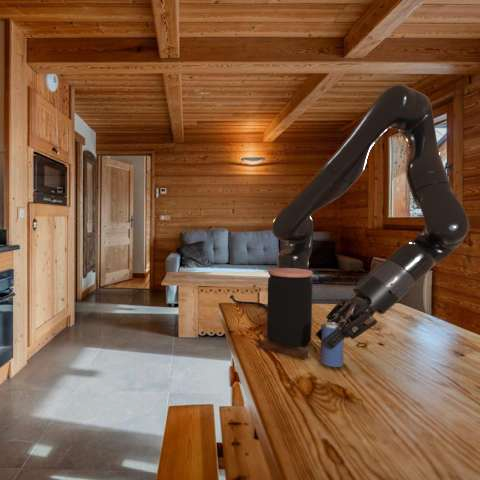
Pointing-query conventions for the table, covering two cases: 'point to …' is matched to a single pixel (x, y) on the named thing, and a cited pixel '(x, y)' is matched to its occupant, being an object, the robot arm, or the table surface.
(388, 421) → the table surface
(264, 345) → the walnut stick
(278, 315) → the coffee jar
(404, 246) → the robot arm
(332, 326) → the salt shaker
